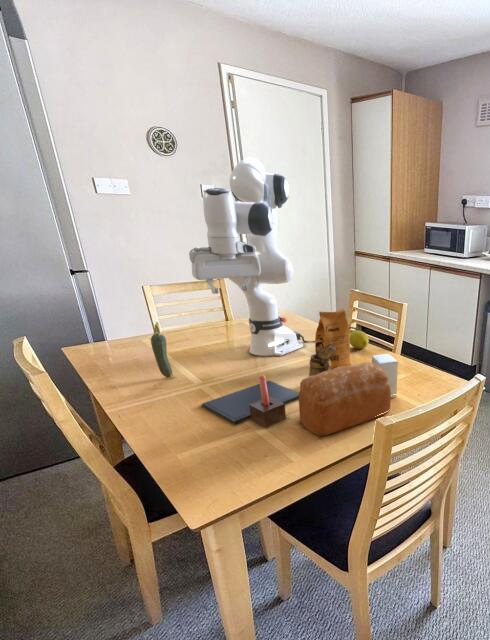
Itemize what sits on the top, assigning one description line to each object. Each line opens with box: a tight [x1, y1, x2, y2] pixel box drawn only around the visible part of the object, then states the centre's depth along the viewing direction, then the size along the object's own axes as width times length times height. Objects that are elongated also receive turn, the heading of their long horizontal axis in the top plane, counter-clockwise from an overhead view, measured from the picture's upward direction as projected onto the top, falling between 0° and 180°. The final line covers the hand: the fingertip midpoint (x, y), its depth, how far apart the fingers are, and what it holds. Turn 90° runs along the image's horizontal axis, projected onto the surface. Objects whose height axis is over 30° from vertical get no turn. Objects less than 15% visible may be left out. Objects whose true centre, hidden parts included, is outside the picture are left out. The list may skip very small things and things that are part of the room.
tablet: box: [201, 380, 299, 425], centre depth 129 cm, size 24×17×1 cm
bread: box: [298, 361, 391, 437], centre depth 120 cm, size 14×26×16 cm, turn 133°
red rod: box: [258, 374, 270, 407], centre depth 117 cm, size 2×2×14 cm
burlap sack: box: [308, 345, 336, 377], centre depth 137 cm, size 9×14×18 cm, turn 35°
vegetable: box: [150, 321, 174, 379], centre depth 137 cm, size 4×4×20 cm
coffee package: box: [314, 308, 351, 370], centre depth 157 cm, size 10×12×22 cm
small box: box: [371, 353, 399, 399], centre depth 137 cm, size 8×6×13 cm
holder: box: [249, 397, 287, 429], centre depth 118 cm, size 7×7×5 cm
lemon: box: [349, 330, 370, 350], centre depth 180 cm, size 11×8×8 cm
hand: (230, 291), depth 130 cm, fingers open, 8 cm apart
